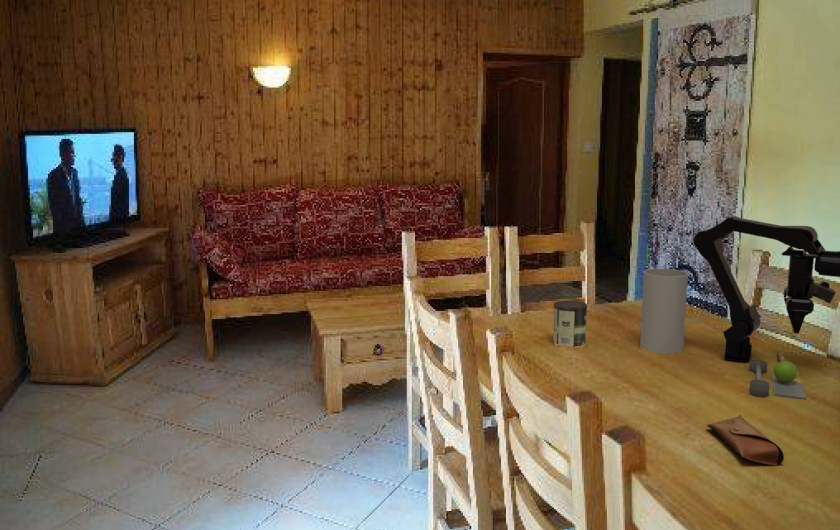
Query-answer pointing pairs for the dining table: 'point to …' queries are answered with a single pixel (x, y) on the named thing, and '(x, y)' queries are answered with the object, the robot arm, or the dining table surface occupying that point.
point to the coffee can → (570, 323)
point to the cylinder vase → (663, 310)
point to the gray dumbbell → (758, 379)
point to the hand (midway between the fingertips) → (795, 329)
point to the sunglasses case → (748, 441)
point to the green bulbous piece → (784, 369)
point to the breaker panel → (788, 388)
